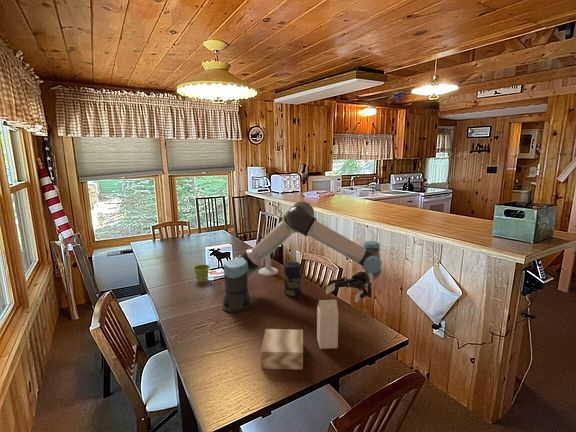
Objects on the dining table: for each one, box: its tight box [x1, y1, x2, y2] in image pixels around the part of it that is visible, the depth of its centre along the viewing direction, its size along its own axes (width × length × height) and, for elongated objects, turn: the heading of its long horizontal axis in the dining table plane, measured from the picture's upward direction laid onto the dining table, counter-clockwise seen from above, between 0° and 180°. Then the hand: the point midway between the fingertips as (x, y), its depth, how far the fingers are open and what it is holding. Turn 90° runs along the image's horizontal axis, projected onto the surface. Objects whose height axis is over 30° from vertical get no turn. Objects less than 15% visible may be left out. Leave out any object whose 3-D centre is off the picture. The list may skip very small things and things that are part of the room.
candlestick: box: [258, 227, 279, 277], centre depth 205 cm, size 13×13×30 cm
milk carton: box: [316, 299, 339, 350], centre depth 127 cm, size 7×7×19 cm
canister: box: [283, 261, 303, 297], centre depth 174 cm, size 10×10×18 cm
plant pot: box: [193, 264, 211, 283], centre depth 193 cm, size 9×9×9 cm
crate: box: [260, 328, 304, 370], centre depth 121 cm, size 15×15×7 cm
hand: (340, 295), depth 133 cm, fingers open, 13 cm apart
